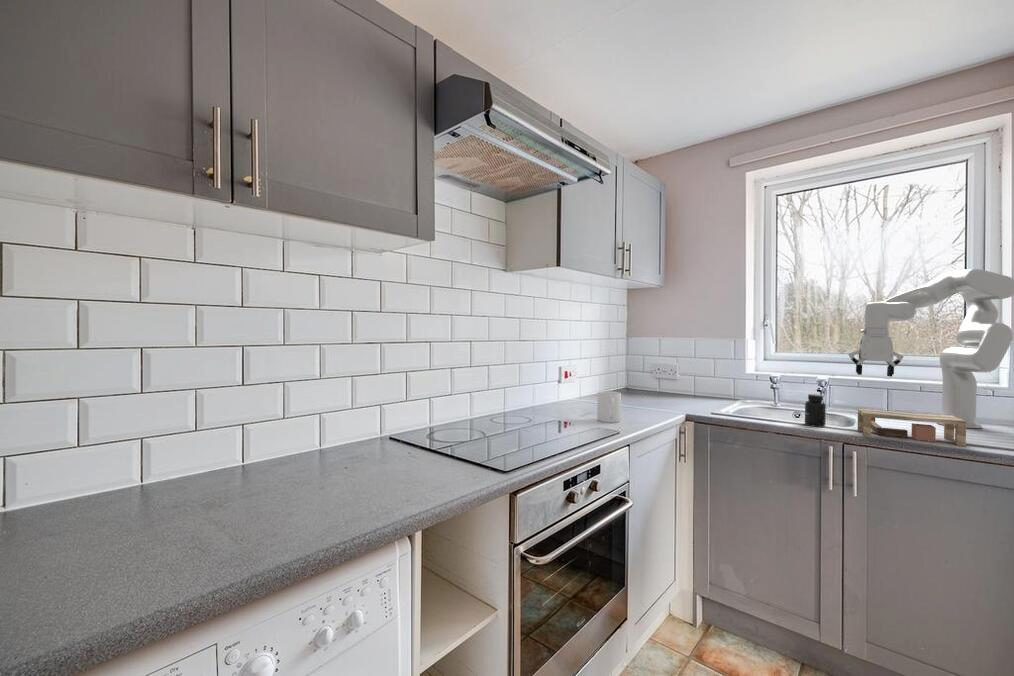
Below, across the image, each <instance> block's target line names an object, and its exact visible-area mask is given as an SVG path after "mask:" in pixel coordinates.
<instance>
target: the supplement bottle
mask: <svg viewBox="0 0 1014 676" xmlns="http://www.w3.org/2000/svg"><path fill="white" fill-rule="evenodd" d="M807 399H808V400H807V401H805V403H804V424H805V425H807V426H811V425H814V426H813V427H825V426H826V415H827V413H826V409H827V405H826V402H823V401H824V396H823V395H822V394H821V395H820V394H815V393H814V394H813V393H812V394H811V393H810V394H808V397H807Z"/></svg>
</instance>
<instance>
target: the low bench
mask: <svg viewBox="0 0 1014 676" xmlns="http://www.w3.org/2000/svg"><path fill="white" fill-rule="evenodd" d="M871 409H872V408H870V409H861V408H857V431H858V432H862V436H863V437H866V438H867V437H868V438H871V437H872V429H871V417H873V418H875V419H886V420H898V421H911V422H913V421H914V422H922V423H923V422H924V423H936V424H938V423H944V425H943V430H944V431H943V438H944V439H945V438H946V439H945V440H948V439H953V440H952V441H954V445H956V446H957V447H967V428H966V421H964V420H962V419H959V418H957V417H955V416H952V415H942V414H937V413H936V414H935V413H923V412H921V413H920V412H910V411H897V410H895V411H894V410H884V409H883V410H881V409H874V410H871ZM954 424H955V427H954Z"/></svg>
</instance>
